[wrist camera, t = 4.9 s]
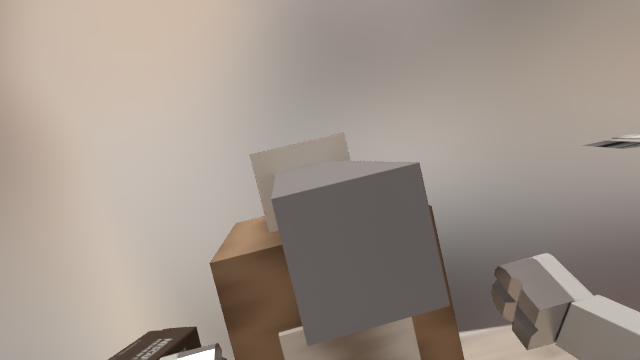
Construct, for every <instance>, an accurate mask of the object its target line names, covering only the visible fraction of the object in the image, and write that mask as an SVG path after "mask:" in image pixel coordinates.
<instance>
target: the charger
mask: <svg viewBox="0 0 640 360" xmlns="http://www.w3.org/2000/svg"><path fill="white" fill-rule="evenodd" d="M250 158H251V162H252V166H253V170H254V174H255V178H256V182H257V186H258V190H259V194H260V198H261V202H262V205H263V210H264V214H265V218H266V222H267V226H268V230H269V233H272V232H276V231H279V233H280V237H281V241H282V245H283V249H284V253H285V258H286V262H287V266H288V270H289V274H290V278H291V282H292V286H293V290H294V294H295V298H296V302H297V306H298V310H299V314H300V318H301V322H302V326H303V330H304V334H305V338H306V342H307V346H311V345H314V344H318V343H321V342H325V341H328V340H332V339H335V338H339V337H342V336H346V335H349V334H353V333H356V332H360V331H363V330H367V329H370V328H374V327H377V326H381V325H384V324H388V323H391V322H395V321H398V320H402V319H405V318H409V317H412V316H416V315H419V314H423V313H426V312H429V311H433V310H436V309H440V308H443V307H447V306H450V303H449V298H448V294H447V289H446V284H445V280H444V275H443V270H442V266H441V261H440V256H439V252H438V247H437V242H436V238H435V233H434V228H433V224H432V219H431V214H430V210H429V205H428V200H427V196H426V191H425V187H424V182H423V177H422V172H421V169H420V163H417V162H416V163H414V162H372V161H350V156H349V152H348V147H347V143H346V139H345V134H344V133H340V134H336V135H331V136H327V137H323V138H319V139H314V140H310V141H306V142H302V143H297V144H293V145H289V146H284V147H281V148H276V149H272V150H267V151H263V152H259V153H254V154H251V155H250Z"/></svg>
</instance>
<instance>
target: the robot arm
mask: <svg viewBox="0 0 640 360" xmlns="http://www.w3.org/2000/svg"><path fill="white" fill-rule="evenodd" d="M495 277H496V278H497V281H496V282H495V283H494V284H493V285H492V292H491V293H492V296H493V301H494V303H495V305H496V308H497V309H498V311H499V312H500V314H501V315H502V316H503V317H505V318H506V319H508V320H510V321H512V330H513V332H514V333H515V334H516V336H517V337H518V338H519V340H520V341H521V343H522V344H523V345H524V347H525V348H526V349H527V350H530V349H534V348H538V347H542V346H545V345H549V344H553V343H556V344H555V345H557V346H558V347H560V348H562V349H563V350H565V351H566V352H568V353H569V354H571V355H573V356H574V357H576V358H577V359H579V360H640V312H638V311H635V310H633V309H631V308H628V307H626V306H624V305H621V304H619V303H617V302H614V301H612V300H610V299H607V298H605V297H603V296H600V295H596V296H593V295H592V294H591V293H590V292H589V291H588V290H587V289H586V288H585V287H584V286H583V285H582V284H581V283H580V282H579V281H578V280H577V279H576V278H575V277H574V276H573V275H572V274H571V273H570V272H569V271H567V270H566V269H565V268H564V267H563V266H562V265H561V264H560V263H559V262H558V261H557V260H556V259H555V258H554V257H553V256H552V255H550V254H548V253H545V254H540V255H537V256H534V257H530V258H525V259H521V260H518V261H514V262H511V263H507V264H504V265H501V266H498V267H497V268H496V270H495ZM160 360H227V359H226V358H223V357H222V349H221V347H220V346H219V344H218V343H216V344H212V345H208V346H204V347H200V348H196V349H193V350H189V351H185V352H181V353H176V354H173V355H169V356H165V357H162V358H160Z"/></svg>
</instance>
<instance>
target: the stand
mask: <svg viewBox="0 0 640 360" xmlns="http://www.w3.org/2000/svg"><path fill="white" fill-rule="evenodd" d="M429 210H430V214H431V219H432V224H433V228H434V233H435V238H436V242H437V247H438V252H439V256H440V261H441V266H442V270H443V275H444V280H445V284H446V289H447V294H448V298H449V303H450V306H447V307H443V308H440V309H436V310H433V311H429V312H426V313H423V314H419V315H416V316H412V317H409V318H405V319H402V320H398V321H395V322H391V323H388V324H384V325H381V326H377V327H374V328H370V329H367V330H363V331H360V332H356V333H353V334H349V335H346V336H342V337H339V338H335V339H332V340H328V341H325V342H321V343H318V344H314V345H311V346H307V342H306V338H305V334H304V330H303V326H302V322H301V318H300V314H299V310H298V306H297V302H296V298H295V294H294V290H293V286H292V282H291V278H290V274H289V270H288V266H287V262H286V258H285V253H284V249H283V245H282V241H281V237H280V233H279V231H276V232H272V233H269V230H268V226H267V222H266V218H265V216H263V217H260V218H255V219H252V220H248V221H244V222H239V223H236V224H235V225H234V227H233V229H232V230H231V232H230V233H229V235H228V236H227V238H226V239H225V241H224V242H223V244H222V245H221V247H220V248H219V250H218V251H217V253H216V254H215V256H214V257H213V259H212V260H211V262H210V266H211V270H212V274H213V278H214V281H215V285H216V289H217V293H218V296H219V300H220V304H221V308H222V312H223V315H224V319H225V323H226V327H227V330H228V334H229V338H230V342H231V346H232V349H233V353H234V357H235V360H464V356H463V351H462V347H461V342H460V337H459V333H458V328H457V323H456V319H455V314H454V310H453V305H452V300H451V296H450V291H449V286H448V282H447V277H446V272H445V267H444V262H443V258H442V253H441V249H440V244H439V239H438V234H437V230H436V225H435V220H434V216H433V211H432V206H430V205H429Z"/></svg>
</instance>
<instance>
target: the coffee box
mask: <svg viewBox="0 0 640 360" xmlns="http://www.w3.org/2000/svg"><path fill="white" fill-rule="evenodd" d="M200 347H201V344H200V340H199V336H198V332H197V327H182V328H169V329H164V330H162V331H150V332H148V333H146V334H145V335H143V336H142V337H141V338H139V339H138V340H136V341H135V342H133V343H132V344H130V345H129V346H127V347H126V348H124V349H123V350H121V351H120V352H119V353H117V354H116V355H114V356H113V357H111V358H110V359H109V360H160V358H162V357H165V356H169V355H173V354H176V353H181V352H185V351H189V350H193V349H196V348H200Z"/></svg>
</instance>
